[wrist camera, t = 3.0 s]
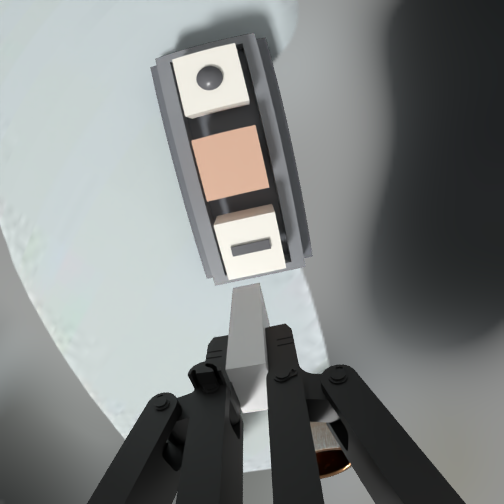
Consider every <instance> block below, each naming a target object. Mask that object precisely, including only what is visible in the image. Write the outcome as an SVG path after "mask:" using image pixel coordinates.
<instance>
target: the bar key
mask: <svg viewBox="0 0 504 504" xmlns="http://www.w3.org/2000/svg"><path fill="white" fill-rule="evenodd" d="M214 229H215V233H216V236H217V240H218V244H219V247H220V251H221V254H222V258H223V261H224V265H225V268H226V272H227V275H228V279H229V280H232V279H237V278H242V277H247V276H252V275H256V274H261V273H266V272H271V271H275V270H280V269H285V268H286V264H285V259H284V254H283V249H282V244H281V239H280V234H279V230H278V225H277V220H276V215H275V211H274V208H273V205H272V204H268V205H264V206H259V207H254V208H250V209H245V210H241V211H237V212H232V213H228V214H224V215H219V216H217V218H216V220H215V223H214Z"/></svg>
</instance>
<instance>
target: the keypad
mask: <svg viewBox="0 0 504 504" xmlns="http://www.w3.org/2000/svg"><path fill="white" fill-rule="evenodd" d="M232 43H235V45H236V49H237V53H238V57H239V60H240V64H241V68H242V72H243V76H244V80H245V84H246V88H247V92H248V96H249V105H245V106H241V107H236V108H232V109H228V110H224V111H220V112H216V113H212V114H208V115H204V116H200V117H197V118H193V119H191V118H188V117H185V113H184V109H183V105H182V101H181V97H180V92H179V88H178V84H177V80H176V75H175V71H174V67H173V62H172V59H175V58H179V57H182V56H185V55H189V54H192V53H196V52H199V51H203V50H207V49H211V48H215V47H219V46H223V45H228V44H232ZM155 60H156V66H153V67H150V68H151V72H152V77H153V81H154V86H155V90H156V95H157V99H158V103H159V108H160V112H161V116H162V120H163V124H164V128H165V133H166V137H167V141H168V144H169V148H170V152H171V156H172V160H173V164H174V168H175V171H176V175H177V179H178V182H179V186H180V190H181V193H182V197H183V200H184V204H185V208H186V211H187V215H188V218H189V221H190V225H191V228H192V232H193V235H194V238H195V242H196V245H197V248H198V252H199V255H200V258H201V261H202V265H203V268H204V271H205V274H206V277H207V278H212V277H213V280H214V283H215V286H216V285H221V284H225V283H230V282H235V281H240V280H245V279H250V278H255V277H260V276H264V275H269V274H274V273H278V272H283V271H288V270H292V269H297V268H302V267H305V261H304V258H307V257H311V256H312V249H311V243H310V237H309V232H308V225H307V220H306V214H305V208H304V203H303V198H302V192H301V187H300V182H299V177H298V172H297V167H296V162H295V157H294V153H293V148H292V143H291V139H290V134H289V129H288V125H287V120H286V116H285V112H284V107H283V103H282V99H281V95H280V91H279V87H278V83H277V79H276V75H275V71H274V67H273V63H272V59H271V55H270V52H269V48H268V44H267V41H266V38H261V39H256V37H255V34H254V33H251V34H246V35H241V36H236V37H231V38H227V39H222V40H218V41H214V42H210V43H206V44H202V45H198V46H195V47H191V48H188V49H184V50H181V51H178V52H174V53H171V54H168V55H165V56H162V57H159V58H156V59H155ZM253 125H255V126H256V130H257V134H258V138H259V143H260V147H261V151H262V156H263V160H264V165H265V169H266V174H267V178H268V183H269V188H265V189H260V190H255V191H251V192H246V193H242V194H238V195H233V196H229V197H225V198H221V199H216V200H212V201H208V202H207V200H206V196H205V192H204V188H203V185H202V181H201V177H200V173H199V169H198V165H197V161H196V158H195V154H194V150H193V146H192V142H191V141H192V140H195V139H199V138H203V137H207V136H210V135H214V134H218V133H222V132H226V131H231V130H235V129H239V128H244V127H248V126H253ZM268 204H272V205H273V208H274V211H275V215H276V220H277V225H278V230H279V234H280V239H281V244H282V249H283V254H284V259H285V264H286V268H285V269H280V270H275V271H271V272H266V273H261V274H256V275H252V276H247V277H242V278H237V279H232V280H229V279H228V275H227V272H226V268H225V265H224V261H223V258H222V254H221V251H220V247H219V244H218V240H217V236H216V233H215V229H214V223H215V220H216V218H217V216H219V215H224V214H228V213H232V212H237V211H241V210H245V209H250V208H254V207H259V206H264V205H268Z"/></svg>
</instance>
